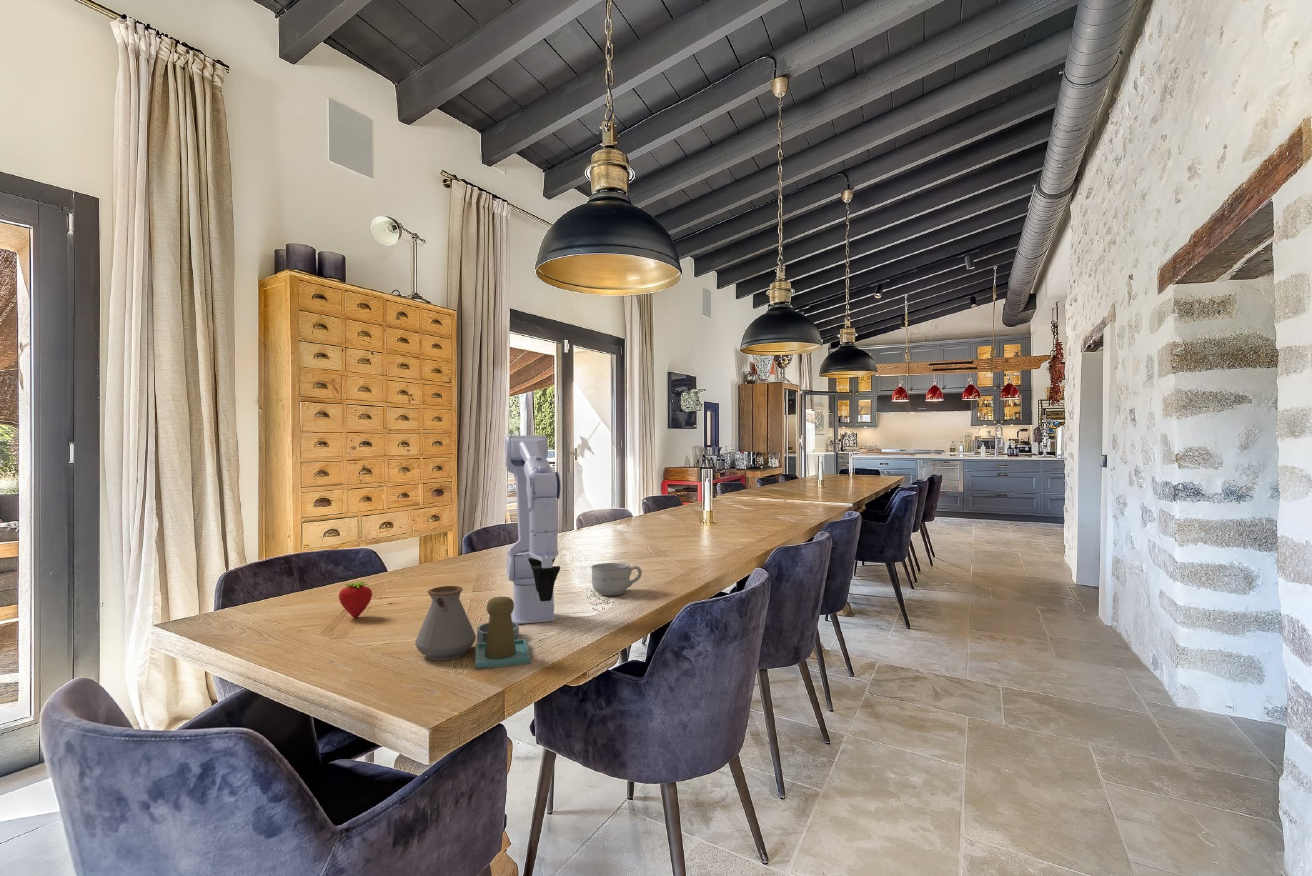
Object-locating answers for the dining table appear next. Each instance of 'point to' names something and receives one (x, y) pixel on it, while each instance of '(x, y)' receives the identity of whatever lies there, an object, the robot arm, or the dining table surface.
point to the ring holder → (483, 631)
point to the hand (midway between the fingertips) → (543, 595)
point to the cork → (500, 629)
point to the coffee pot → (445, 626)
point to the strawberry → (355, 598)
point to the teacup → (613, 577)
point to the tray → (517, 659)
